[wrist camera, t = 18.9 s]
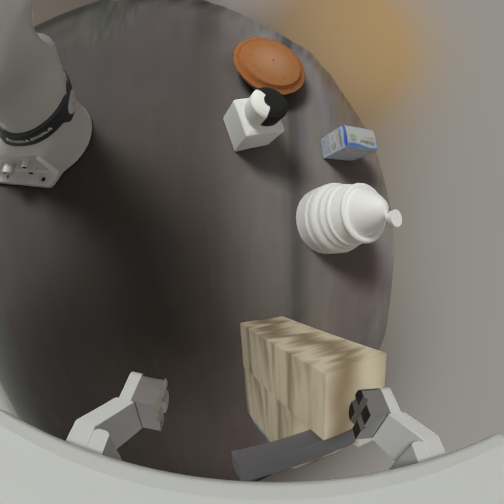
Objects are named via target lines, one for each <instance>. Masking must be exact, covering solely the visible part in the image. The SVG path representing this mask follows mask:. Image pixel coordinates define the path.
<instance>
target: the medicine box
mask: <svg viewBox="0 0 504 504" xmlns="http://www.w3.org/2000/svg"><path fill="white" fill-rule="evenodd" d="M321 147H322V153H323V158H325V159H338V160H349V161H354V160H356V159H358V158H361V157H363V156H365V155H368V154H370V153H372V152H375V151H377V145H376V140H375V136H374V132H373V131H372V130H367V129H363V128H358V127H352V126H347V125H343V126H341V127H339V128H338V129H336V130H335V131H333V132H331V133H330V134H328V135H327V136H325V137H323V138H322V139H321Z"/></svg>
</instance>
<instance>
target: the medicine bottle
mask: <svg viewBox="0 0 504 504" xmlns="http://www.w3.org/2000/svg"><path fill="white" fill-rule="evenodd" d="M287 110H288V105H287V102H286V99H285V98H284V96H283V95H282V94H281V93H280V92H279V91H277V90H275V89H273V88H269V87H261V88H258V89H256V90H255V91H254V92H253V93H252V95H251V96H250V97H249V98H244V99H237V100H234V101H233V103H232V104H231V106H230V108H229V109H228V111H227V113H226V114H225V116H224V118H223V120H224V123H225V126H226V129H227V131H228V134H229V137H230V140H231V143H232V146H233V149H234V151H240V150H245V149H250V148H254V147H259V146H264V145H269V144H270V143H271V142H272V141H273V140H274V139H275V138H276V137H278V136H279V135H280V134H281V133H282V132H283V131H284V127H283V124H282V122H281V119H282V118H283V117H284V116H285V115H286V113H287Z"/></svg>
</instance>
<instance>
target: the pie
mask: <svg viewBox="0 0 504 504" xmlns="http://www.w3.org/2000/svg"><path fill="white" fill-rule="evenodd" d="M233 57H234V64H235V67H236V69H237V71H238V72H239V74H240V76H241V78H242V79H243V80H244V81H245V83H246V84H248V85H249V86H250V87H252V88H253V89H255V90H256V89H258V88H261V87H269V88H273V89H275V90H277V91H279V92H280V93H281V94H282V95H286V94H290V93H294V92H295V91H297V90H298V89H300V88H301V86H302V85H303V83H304V79H305V72H304V68H303V65H302V63H301V61H300V60H299V58H298V57H297V55H296V54H295V53H294V52H293V51H292V50H290V49H289V48H288V47H286V46H285V45H283V44H281V43H279V42H277V41H274V40H271V39H267V38H259V37H257V38H250V39H247V40H245V41H243V42H241V43H240V44H239V45H238V46H237V47H236V48H235V51H234V54H233Z"/></svg>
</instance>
